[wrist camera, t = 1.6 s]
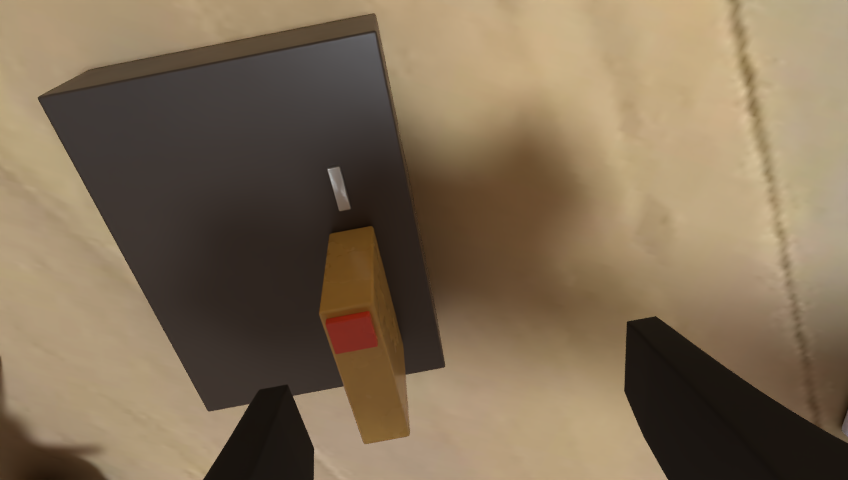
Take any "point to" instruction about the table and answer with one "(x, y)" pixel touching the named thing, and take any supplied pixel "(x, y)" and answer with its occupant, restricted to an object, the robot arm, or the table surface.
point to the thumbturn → (365, 334)
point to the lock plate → (252, 197)
